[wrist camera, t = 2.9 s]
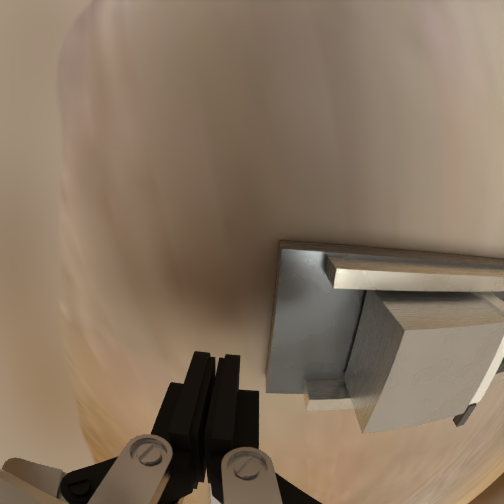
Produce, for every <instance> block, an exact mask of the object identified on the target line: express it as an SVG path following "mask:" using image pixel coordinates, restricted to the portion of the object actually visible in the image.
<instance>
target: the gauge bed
mask: <svg viewBox="0 0 504 504" xmlns="http://www.w3.org/2000/svg"><path fill="white" fill-rule="evenodd" d="M367 290H395V291H455V292H486V291H489V292H491V293H492V294H494V295H495V296H496V297H498V298H499V299H501V300H502V301H504V259H496V258H486V257H476V256H465V255H455V254H444V253H433V252H422V251H410V250H399V249H387V248H375V247H363V246H350V245H337V244H324V243H311V242H297V241H283V240H280V243H279V254H278V265H277V275H276V285H275V295H274V305H273V315H272V324H271V333H270V342H269V351H268V360H267V368H266V393H285V394H304V400H305V406H306V410H336V409H352V408H354V407H353V404H352V401H351V398H350V395H349V392H348V389H347V386H346V383H345V381H344V376H345V372H346V369H347V366H348V362H349V359H350V356H351V352H352V348H353V345H354V341H355V337H356V334H357V330H358V326H359V322H360V318H361V313H362V309H363V305H364V300H365V296H366V291H367ZM503 379H504V357H503V360H502V362H501V364H500V366H499V368H498V370H497V372H496V374H495V375H494V377H493V379H492V381H491V383H494V382H497V381H500V380H503Z"/></svg>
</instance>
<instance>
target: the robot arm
mask: <svg viewBox="0 0 504 504" xmlns="http://www.w3.org/2000/svg"><path fill="white" fill-rule="evenodd" d="M239 372H240V355H229V354H226V355H225V358H219V362H218V367H217V372H216V377H215V357H210V353H207V352H198V351H195V352H194V354H193V357H192V360H191V363H190V366H189V369H188V372H187V375H186V378H185V381H184V384H181V383H174V382H171V383H170V385H169V387H168V390H167V392H166V395H165V397H164V400H163V403H162V405H161V408H160V410H159V413H158V416H157V418H156V421H155V424H154V426H153V429H152V432H151V434H143V435H139V436H136V437H134V438H133V439H131V440H130V441H129V442H128V443H127V444H126V446H125V447H124V449H123V450H122V452H121V453H120V455H119V456H118V457H115V458H112V459H110V460H107V461H104V462H101V463H98V464H95V465H92V466H88V467H85V468H82V469H79V470H75V471H72V472H70V473H65V472H63V471H62V470H61V469H57V468H52V467H48V466H45V465H41V464H37V463H34V462H30V461H26V460H24V459H21V458H11V459H8V460H7V461H6V462H5V463H4V465H3V467H2V469H0V504H182V503H183V500H184V497H185V496H187V495H188V494H190V493H192V492H193V489H197V486H198V482H204V478H205V472H206V467H207V477H208V483H211V492H212V496H213V497H214V498H215V499H217V500H218V501H219V502H220V503H221V504H322V503H320V502H319V501H317V500H315V499H314V498H312V497H311V496H309V495H307V494H306V493H304V492H303V491H301V490H300V489H298V488H297V487H295V486H294V485H292V484H291V483H289V482H288V481H286V480H285V479H284V478H282V477H281V476H279V475H278V474H277V473H275V470H274V466H273V463H272V460H271V458H270V457H269V456H268V455H267V454H266V453H265V452H263V451H261V450H259V391H251V390H239Z"/></svg>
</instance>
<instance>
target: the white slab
mask: <svg viewBox="0 0 504 504" xmlns="http://www.w3.org/2000/svg"><path fill="white" fill-rule="evenodd" d="M471 293H473V294H474V295H475V296H477V297H478V298H479V299H481V300H482V301H483V302H485V303H486V304H487V305H489V306H490V307H491V308H493V309H494V310H495V311H497V312H498V313H499V314H500V315H502V316H503V317H504V301H502V300H501V299H499V298H498V297H496V296H495V295H494V294H492V293H491V292H489V291H486V292H471ZM503 357H504V336H503V339H502V341H501V343H500V346H499V348H498V350H497V352H496V355H495V357H494V359H493V361H492V363H491V365H490V367H489V369H488V371H487V373H486V375H485V377H484V379H483V381H482V383H481V384H480V386H479V388H478V390H477V392H476V393H475V395H474V397H473V399H472V400H471V402H470V404H469V405H468V407H467V409H466V410H465V412H464V413H463V414H460V415H456V416H455V417H454V419H453V421H454V423H455V425H456V426H461V425H464V423H465V422H466V420H467V419H468V417H469V416H470V414H471V413H472V411H473V410H474V408H475V406H476V402H479V401H480V400H481V399H482V397H483V395H484V394H485V392H486V390H487V388H488V387H489V385H490V383H491V381H492V379H493V377H494V375H495V374H496V372H497V370H498V368H499V366H500V364H501V362H502V360H503Z"/></svg>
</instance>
